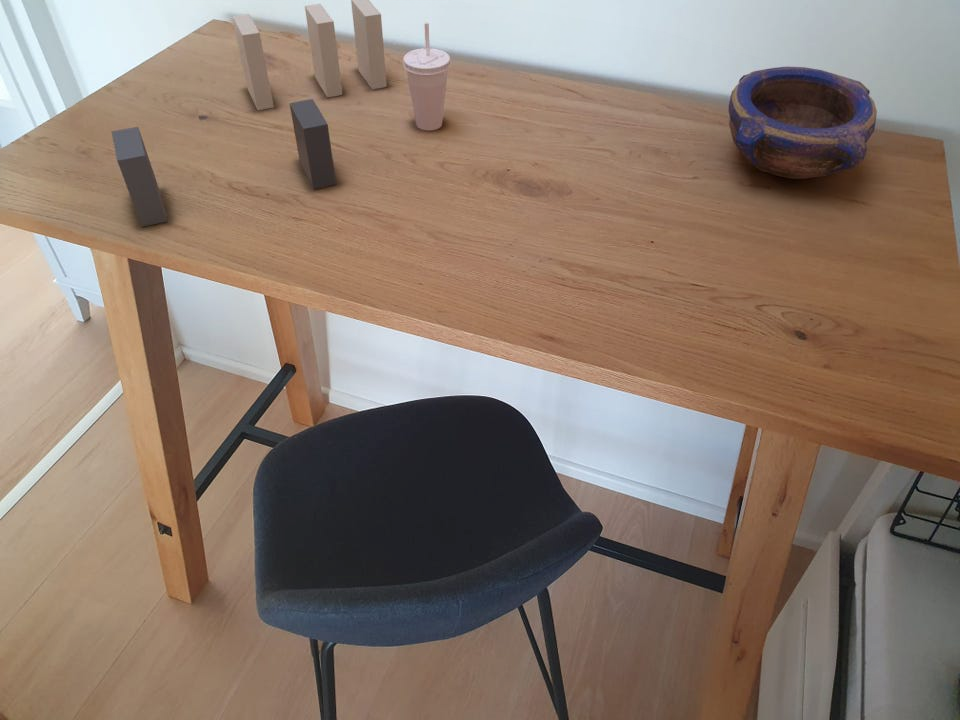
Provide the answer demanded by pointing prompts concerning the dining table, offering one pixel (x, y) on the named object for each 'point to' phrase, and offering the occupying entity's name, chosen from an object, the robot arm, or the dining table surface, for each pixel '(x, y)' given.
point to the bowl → (801, 121)
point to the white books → (366, 46)
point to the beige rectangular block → (253, 61)
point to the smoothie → (427, 83)
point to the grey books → (144, 185)
